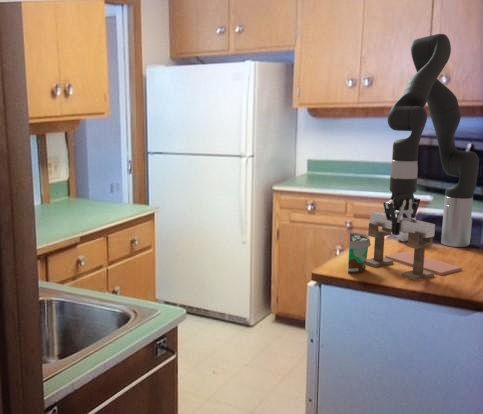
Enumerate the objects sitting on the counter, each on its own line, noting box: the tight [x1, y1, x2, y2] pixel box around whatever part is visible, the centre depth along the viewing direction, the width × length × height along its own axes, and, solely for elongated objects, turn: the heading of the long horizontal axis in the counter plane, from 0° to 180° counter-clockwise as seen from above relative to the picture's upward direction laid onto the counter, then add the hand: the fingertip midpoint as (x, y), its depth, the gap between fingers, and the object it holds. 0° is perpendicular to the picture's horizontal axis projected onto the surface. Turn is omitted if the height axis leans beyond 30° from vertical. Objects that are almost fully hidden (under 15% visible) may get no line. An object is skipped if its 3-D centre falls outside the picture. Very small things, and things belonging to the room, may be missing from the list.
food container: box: [347, 232, 371, 275], centre depth 161 cm, size 12×6×10 cm, turn 168°
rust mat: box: [384, 251, 463, 276], centre depth 169 cm, size 10×21×1 cm, turn 34°
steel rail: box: [369, 211, 436, 238], centre depth 160 cm, size 4×21×4 cm, turn 34°
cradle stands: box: [366, 222, 435, 282], centre depth 161 cm, size 8×20×13 cm, turn 34°
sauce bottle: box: [394, 210, 417, 242], centre depth 196 cm, size 8×8×18 cm
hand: (400, 233), depth 161 cm, fingers closed on steel rail, 3 cm apart
